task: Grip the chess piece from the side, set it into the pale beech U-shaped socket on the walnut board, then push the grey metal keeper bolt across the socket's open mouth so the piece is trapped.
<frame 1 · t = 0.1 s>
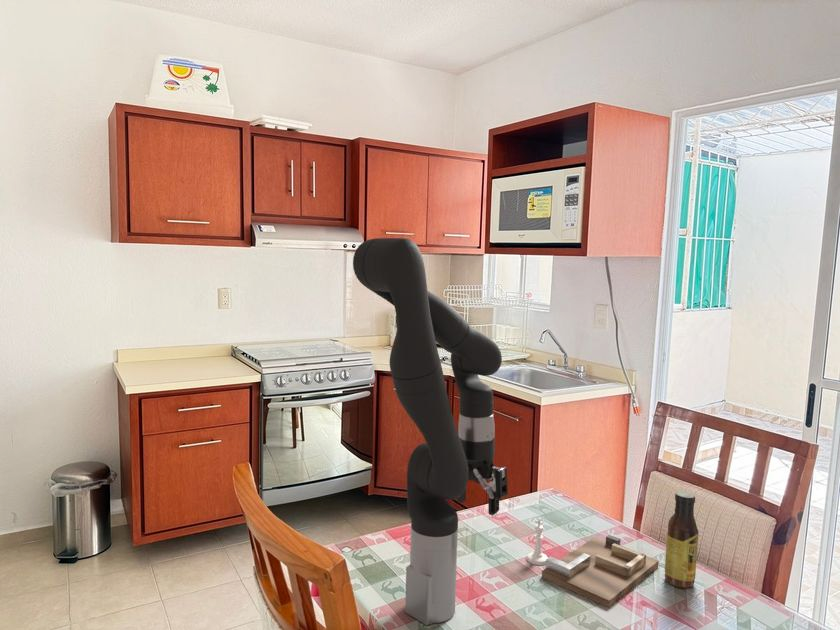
hand: (477, 507, 127), 17 cm above the table, tool pointing down, fingers open, 8 cm apart
sauce bottle: (679, 582, 133), on the table
keeper bolt: (568, 561, 135), point 3 cm above the table, slide at 0.0 cm
socket board: (601, 571, 136), on the table
chess piece: (537, 560, 141), on the table
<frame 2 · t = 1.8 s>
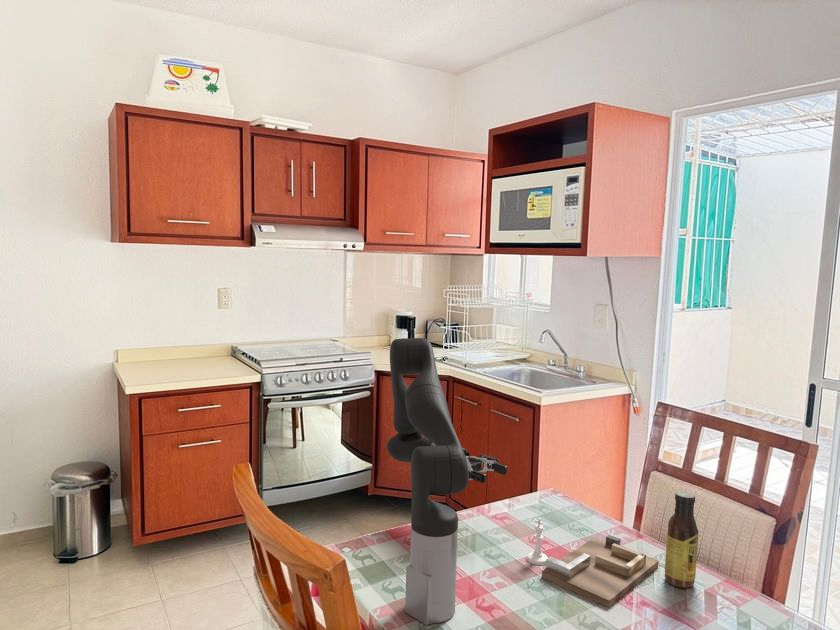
hand: (496, 474, 148), 17 cm above the table, tool horizontal, fingers open, 8 cm apart
nothing on the table moved.
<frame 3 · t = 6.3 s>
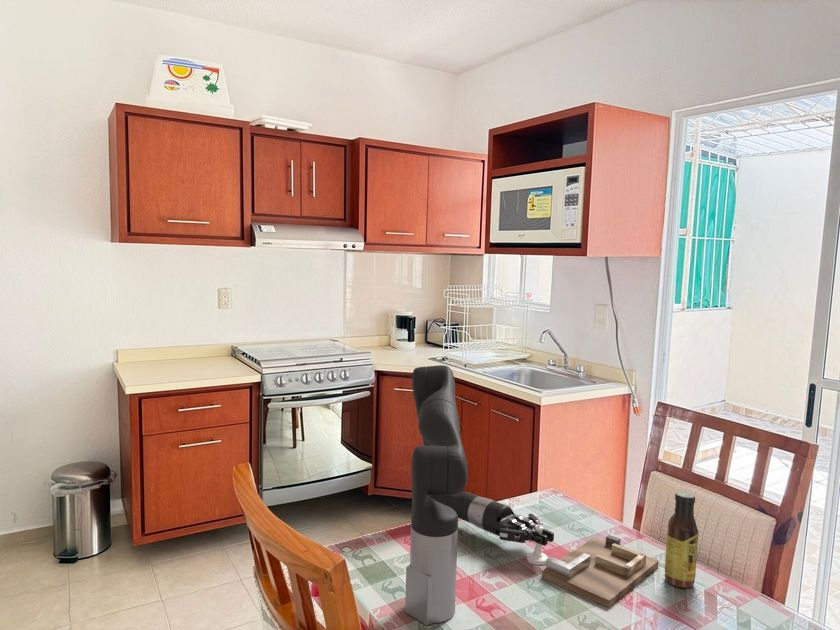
hand: (549, 539, 138), 6 cm above the table, tool horizontal, fingers closed on chess piece
chess piece: (537, 560, 141), on the table, touching gripper
everything else where it was.
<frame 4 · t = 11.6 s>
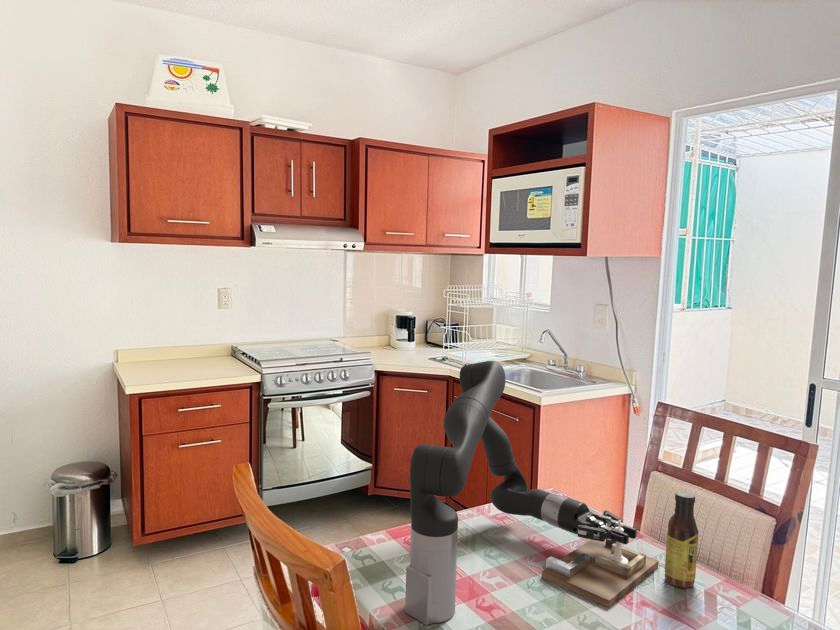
hand: (631, 536, 135), 9 cm above the table, tool horizontal, fingers open, 3 cm apart
chess piece: (617, 563, 137), point 1 cm above the table, touching socket board
everything else where it was.
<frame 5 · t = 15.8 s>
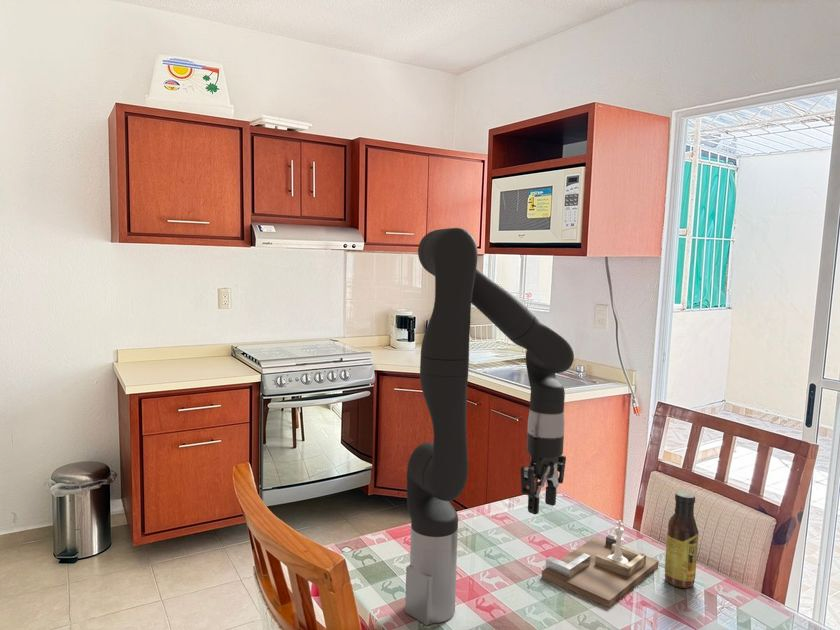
hand: (541, 508, 127), 17 cm above the table, tool pointing down, fingers open, 6 cm apart
nothing on the table moved.
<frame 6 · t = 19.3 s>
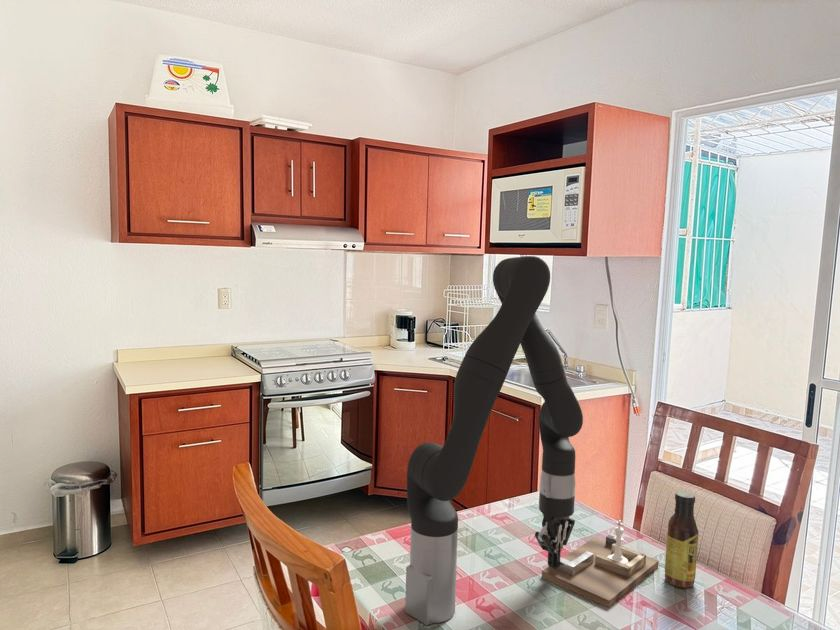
hand: (553, 566, 132), 3 cm above the table, tool pointing down, fingers closed
keeper bolt: (571, 559, 136), point 3 cm above the table, slide at 1.4 cm, touching gripper
everything else where it was.
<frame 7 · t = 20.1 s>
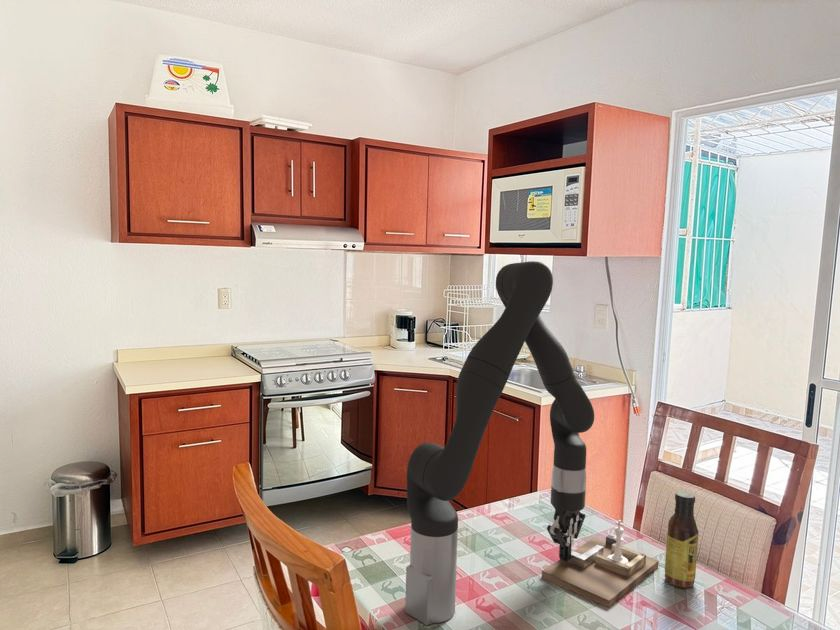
hand: (564, 559, 136), 3 cm above the table, tool pointing down, fingers closed
keeper bolt: (582, 552, 139), point 3 cm above the table, slide at 6.1 cm, touching gripper
everything else where it was.
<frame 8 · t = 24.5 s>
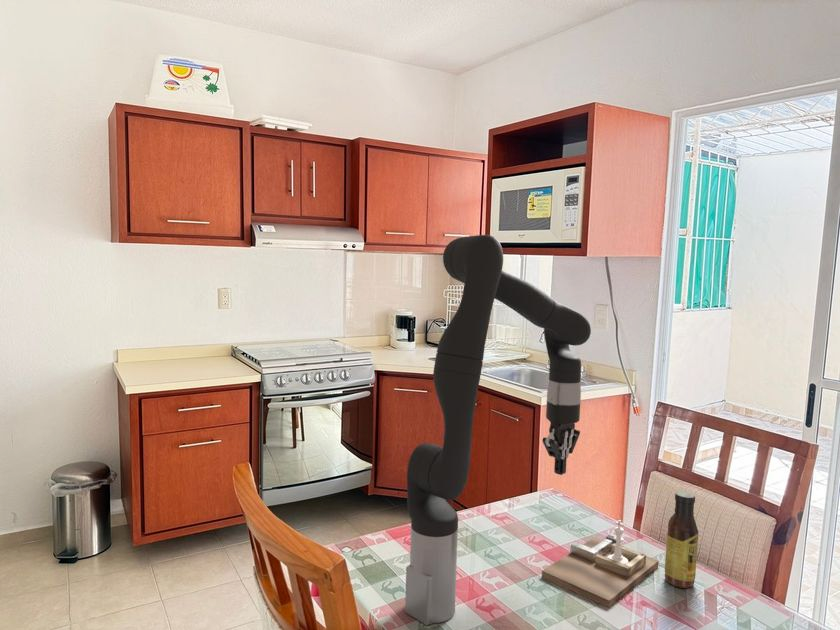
hand: (559, 473, 139), 21 cm above the table, tool pointing down, fingers closed
keeper bolt: (591, 546, 142), point 3 cm above the table, slide at 10.5 cm
everything else where it was.
at the end: chess piece 0.1 cm from the target spot, point 1.3 cm above the table; chess piece tilted 0°; keeper bolt slide at 10.5 cm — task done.
